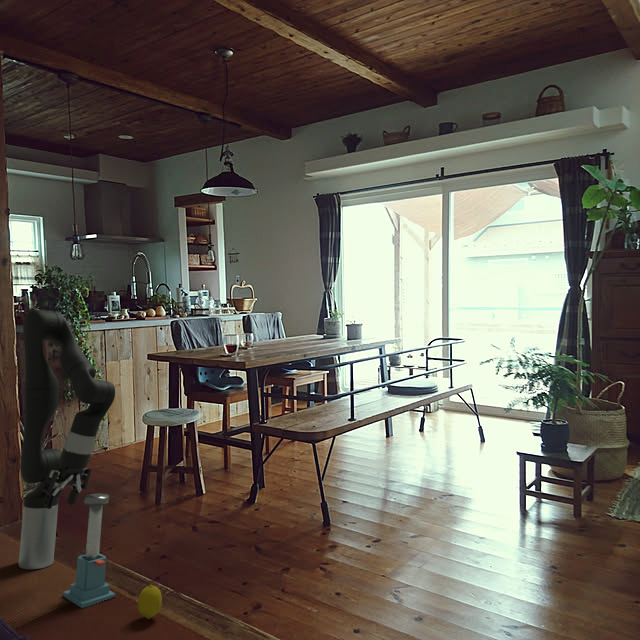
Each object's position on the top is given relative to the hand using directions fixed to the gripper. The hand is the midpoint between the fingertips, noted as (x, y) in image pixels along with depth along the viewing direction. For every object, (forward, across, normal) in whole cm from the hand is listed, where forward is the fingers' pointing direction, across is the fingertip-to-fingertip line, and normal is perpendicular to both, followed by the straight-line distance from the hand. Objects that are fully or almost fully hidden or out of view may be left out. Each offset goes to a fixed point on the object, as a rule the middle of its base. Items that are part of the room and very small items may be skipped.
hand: (59, 505), depth 156 cm
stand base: (+17, +2, +20) cm, 26 cm away
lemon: (+13, +5, +40) cm, 43 cm away
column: (+16, +2, +19) cm, 25 cm away
